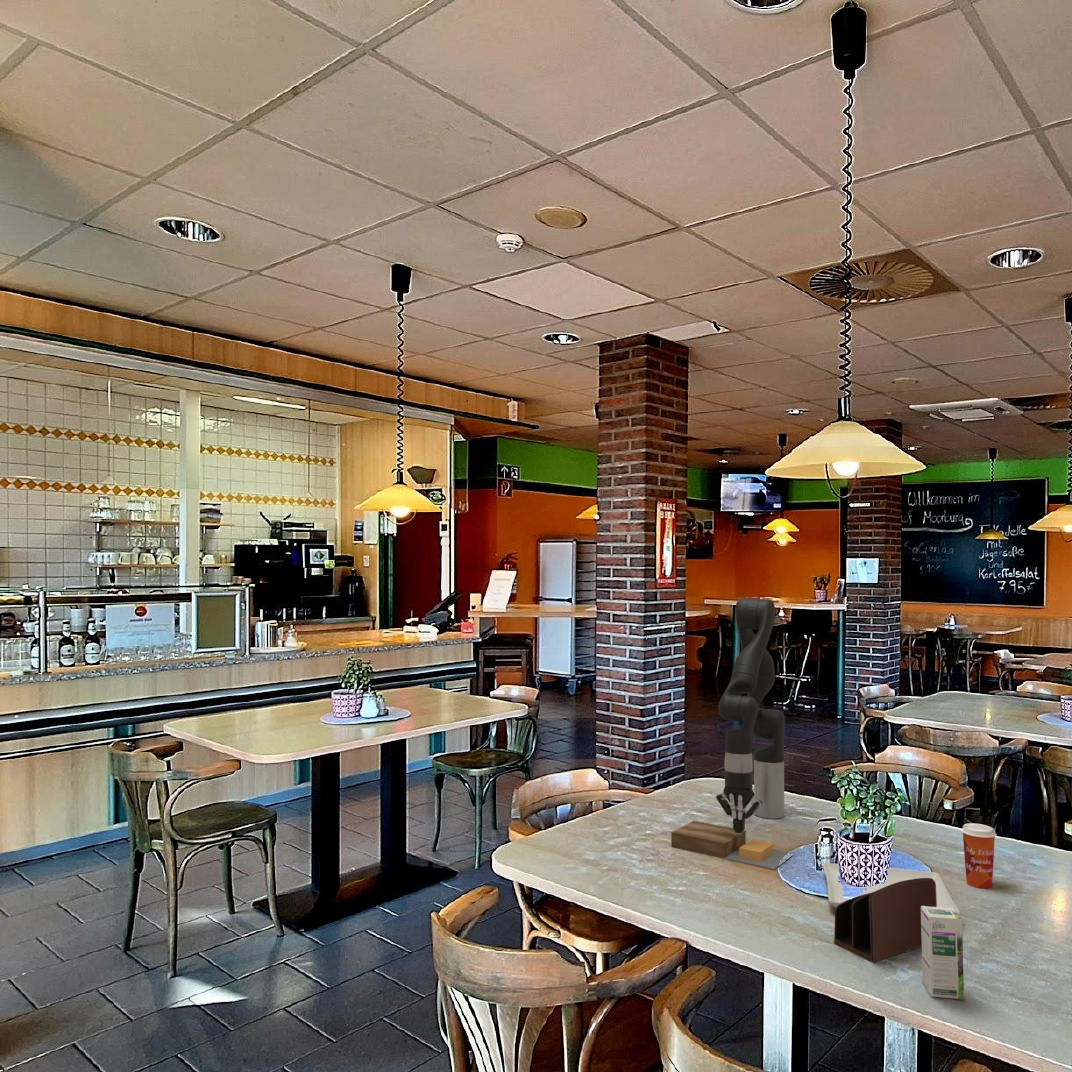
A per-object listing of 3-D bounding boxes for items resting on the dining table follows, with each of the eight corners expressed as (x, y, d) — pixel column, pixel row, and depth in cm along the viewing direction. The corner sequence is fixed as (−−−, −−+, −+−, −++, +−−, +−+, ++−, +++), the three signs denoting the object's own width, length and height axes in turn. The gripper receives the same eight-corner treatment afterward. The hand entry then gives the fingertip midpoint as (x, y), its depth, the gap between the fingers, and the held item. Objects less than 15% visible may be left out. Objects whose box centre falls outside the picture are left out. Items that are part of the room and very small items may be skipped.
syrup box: (930, 997, 153) (929, 916, 154) (921, 982, 159) (920, 903, 160) (964, 1000, 152) (963, 918, 153) (953, 985, 158) (952, 906, 159)
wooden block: (693, 834, 248) (693, 820, 248) (745, 845, 238) (745, 830, 238) (671, 846, 237) (671, 832, 237) (724, 858, 227) (724, 843, 227)
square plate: (938, 886, 209) (937, 870, 209) (961, 931, 183) (961, 913, 183) (822, 875, 216) (822, 859, 217) (829, 916, 190) (829, 899, 190)
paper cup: (964, 887, 207) (963, 829, 208) (960, 877, 214) (959, 821, 215) (1000, 892, 204) (999, 833, 205) (994, 881, 212) (994, 824, 212)
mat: (746, 844, 239) (746, 843, 239) (794, 854, 230) (794, 853, 230) (724, 859, 227) (724, 857, 227) (774, 870, 218) (774, 868, 218)
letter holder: (938, 943, 176) (937, 874, 177) (873, 963, 167) (872, 891, 167) (897, 925, 185) (897, 860, 186) (833, 944, 176) (832, 875, 176)
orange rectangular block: (773, 843, 231) (773, 853, 231) (752, 839, 234) (752, 848, 234) (760, 852, 224) (760, 861, 223) (739, 847, 227) (739, 857, 227)
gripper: (767, 769, 232) (767, 833, 231) (722, 762, 240) (722, 824, 239) (756, 774, 226) (756, 840, 225) (710, 767, 234) (710, 831, 233)
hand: (738, 832), depth 232 cm, fingers closed
